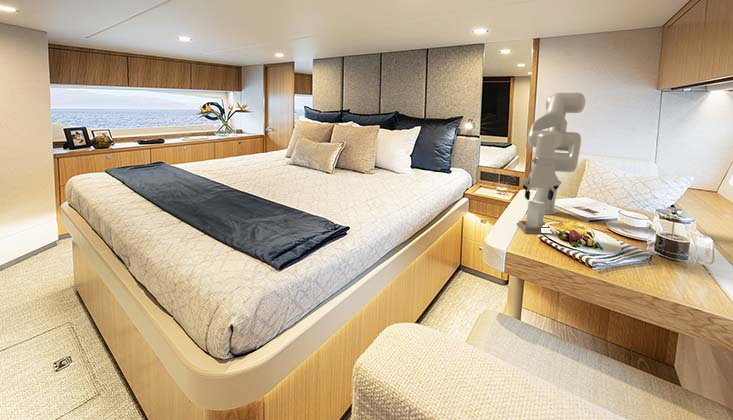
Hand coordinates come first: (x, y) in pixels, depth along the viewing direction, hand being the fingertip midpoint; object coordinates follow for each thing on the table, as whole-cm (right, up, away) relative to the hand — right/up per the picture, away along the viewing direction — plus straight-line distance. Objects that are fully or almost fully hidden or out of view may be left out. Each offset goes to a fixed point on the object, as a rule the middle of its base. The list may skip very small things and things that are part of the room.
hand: (538, 199), depth 164 cm
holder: (0, -14, +4) cm, 14 cm away
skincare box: (-1, -13, +4) cm, 13 cm away
